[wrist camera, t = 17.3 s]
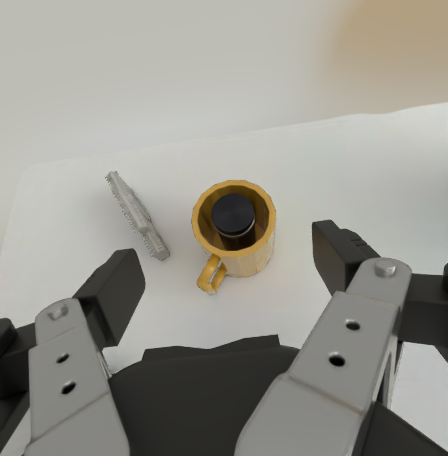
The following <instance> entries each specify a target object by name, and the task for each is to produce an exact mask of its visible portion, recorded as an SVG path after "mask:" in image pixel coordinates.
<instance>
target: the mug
mask: <svg viewBox="0 0 448 456" xmlns="http://www.w3.org/2000/svg"><path fill="white" fill-rule="evenodd" d="M227 194H240V195H243V196H245V197H246V198H247V199H249V201H250V202H251V203H252V206H253V209H254V214H255V233H256V243H255V244H253V245H252V246H251V247H248V248H245V249H242V250H239V251H226V250H225V248H224V245H223V243H222V241H221V239H220V236H219V234H218V232H217V230H216V228H215V226H214V224H213V220H212V217H211V211H212V208H213V205H214V204H215V202H216V201H217V200H218V199H219V198H221V197H222V196H224V195H227ZM275 221H276V210H275V207H274V205H273V203H272V200H271V198H270V196H269V195H268V194H267V193H266V192H265V191H264V190H263V189H262V188H260V187H259V186H257V185H255V184H252V183H250V182H247V181H244V180H228V181H225V182H222V183H219V184H215V185H213V186H212V187H211V188H209V189H208V190H207V191H206V192H204V193H203V194H202V195H201V196H200V198H199V200H198V201H197V203H196V204H195V206H194V208H193V214H192V220H191V224H192V228H193V231H194V235H195V238H196V239H197V241H198V242H199V243H200V245H201V246H202V248H203V249H204V251H205V252H206V254H207V255H208V257H209V260H208V262H207V263H206V265H205V267H204V269H203V271H202V272H201V274H200V276H199V278H198V279H197V286H198V287H199V288H201V289H202V290H203V291H205V292H206V293H207V294H208V295H210V296H212V295H214V294H215V293H216V291H217V289H218V288H219V286H220V284H221V282H222V280H223V278H224V276H225V275H228V276H232V277H237V278H244V277H249V276H252V275H255V274H257V273H258V272H260V271H261V270H262V269H263V268H264V267H265V266H266V265H267V264H268V262H269V260H270V258H271V255H272V253H273V244H274V234H275ZM216 267H217V268H218V270H217V272H216V274H215V276H214V278H213V279H212V281H211V283H210V282H209V280H210V278H211V276H212V275H213V273H214V271H215V269H216Z"/></svg>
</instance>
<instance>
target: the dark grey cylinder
mask: <svg viewBox="0 0 448 456" xmlns="http://www.w3.org/2000/svg"><path fill="white" fill-rule="evenodd" d="M211 217H212V220H213V224H214V226H215V228H216V230H217V232H218V234H219V236H220V239H221V241H222V243H223V245H224V248H225V250H226V251H239V250H242V249H245V248H248V247H251V246H252V245H253V244H255V243H256V233H255V214H254V209H253V206H252V203H251V202H250V201H249V199H247V198H246V197H245V196H243V195H240V194H227V195H224V196H222V197H221V198H219V199H218V200H217V201H216V202H215V204H214V205H213V208H212V211H211Z"/></svg>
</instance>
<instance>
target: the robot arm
mask: <svg viewBox="0 0 448 456" xmlns="http://www.w3.org/2000/svg"><path fill="white" fill-rule="evenodd" d="M312 241H313V257H314V263H315V266H316V268H317V270H318V272H319V274H320V276H321V278H322V279H323V281H324V283H325V285H326V287H327V288H328V290H329V292H330V294H331V296H332V298H331V300H330V301H329V303H328V305H327V306H326V308H325V310H324V311H323V313H322V315H321V316H320V318H319V320H318V321H317V323H316V325H315V326H314V328H313V330H312V331H311V333H310V335H309V336H308V338H307V339H306V341H305V343H304V344H303V346H302V348H301V349H297V348H294V347H289V346H283V345H280V343H279V338H278V334H277V335H268V336H260V337H251V338H243V339H240V340H237V341H234V342H231V343H228V344H225V345H222V346H218V347H215V348H212V349H201V348H192V347H183V346H171V347H162V348H153V349H145V352H144V355H143V357H142V360H141V361H139V362H137V363H134V364H132V365H130V366H128V367H126V368H124V369H122V370H121V371H119V372H117V373H116V374H114V375H113V376H112V375H111V373H110V370H109V368H108V365H107V363H106V360H105V358H104V355H103V353H102V350H103V348H104V347H113V346H118V344H119V342H120V340H121V338H122V336H123V334H124V332H125V330H126V328H127V326H128V324H129V321H130V319H131V317H132V315H133V313H134V311H135V309H136V307H137V305H138V303H139V301H140V299H141V297H142V295H143V293H144V290H145V278H144V274H143V271H142V268H141V265H140V262H139V259H138V256H137V253H136V251H135V250H134V249H133V248H130V249H123V250H117V251H115V252H114V253H113V254H112V256H111V257H110V258H109V259H108V260H107V262H106V263H104V264H103V265H102V266H100V267H99V268H97V269H96V270H95V271H94V272H93V274H92V275H91V277H89V278H88V279H87V281H86V283H84V284H83V285H82V286H81V288H80V289H79V290H78V291H77V292H76V293H75V294H74V296H73V297H72V298H68V299H63V300H60V301H57V302H55V303H53V304H51V305H49V306H48V307H46V308H45V309H43V310H42V311H41V312H40V313H39V314H38V315H37V316H36V318H35V323H32V324H29V325H26V326H23V327H20V328H17V329H15V327H14V325H13V324H12V322H11V320H10V319H8V318H2V319H0V454H1V452H2V451H3V449H4V447H5V446H6V444H7V443H8V441H9V439H10V438H11V436H12V435H13V433H14V431H15V430H16V428H17V427H18V425H19V424H20V422H21V420H22V419H23V417H24V416H25V414H26V412H27V411H28V409H29V408H30V423H31V440H30V442H29V443H28V444H27V445H26V447H25V450H24V453H23V454H22V455H21V456H448V452H447V451H446V450H445V449H443V448H442V447H440V446H439V445H438V444H436V443H435V442H434V441H432V440H431V439H429V438H428V437H427V436H425V435H424V434H423V433H421V432H420V431H418V430H417V429H416V428H414V427H413V426H412V425H410V424H409V423H407V422H406V421H405V420H403V419H402V418H401V417H399V416H398V415H396V414H395V413H394V412H392V411H391V410H390V407H391V401H392V394H393V389H394V384H395V380H396V376H397V372H398V368H399V363H400V359H401V355H402V351H403V347H404V342H412V343H419V344H427V345H434V346H435V347H436V349H437V350H438V351H439V352H440V354H441V355H442V356H443V358H444V359H445V360H446V361H447V363H448V263H447V264H446V265H445V266H444V272H443V275H426V274H414V273H412V270H411V268H410V267H409V266H408V265H407V264H405V263H403V262H401V261H399V260H395V259H391V258H382V257H381V256H380V255H379V254H377V253H376V252H375V251H374V250H373V249H372V248H371V247H370V246H369V245H367V243H366V242H365V241H364V240H362V238H361V237H360V236H359V235H358V234H356V233H355V232H352V231H350V230H348V229H340V228H339V227H338V226H337V225H336V224H335V223H334V222H333V221H332V220H324V221H317V222H313V223H312Z"/></svg>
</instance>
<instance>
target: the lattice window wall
mask: <svg viewBox="0 0 448 456" xmlns="http://www.w3.org/2000/svg"><path fill="white" fill-rule="evenodd" d="M106 178H108V179H107V180H106V181H108V180H109V181H108V183H109V182H110V184H109V185H111V186H110V187H112V188H111V189H112V192H113V194H114V195H115V196H114V197H115V198H117V201H119V204H121V205H120V206H122V207H121V208H122V209H124V210H123V211H122V212H124V211H125V212H126V213H125V214H124V215H126V214H127V216H126V218H127V217H129V219H128V221H129V220H131V221H130V222H129V223H131V222H132V224H131V226H132V225H133V226H132V228H133V227H134V228H133V230H135V231H134V232H137V233H138V232H140V233H142V234H143V237H144V238H143V240H144V239H145V240H144V242H145V241H146V243H145V244H148V245H147V247H148V246H149V248H148V250H149V249H151V250H149V252H150V251H152V252H151V253H150V254H152V253H153V255H152V257H153V256H154V257H157V258H158V259H161V260H163V259H165V258H166V257H168V256H169V251H168V250H167V248H166V246H165V244H164V243H163V241H162V239H161V238H160V236H159V235H158V234H157V232H156V231H155V229H154V227H153V225H152V224H151V222H150V220H151V219H150V216H149V214H148V213H147V211H146V209H145V208H144V206H143V205H142V203H141V202H140V200H139V199H138V198H137V197H136V195H135V194H134V192H133V191H132V190H131V189H130V187H129V186H128V185H127V184H126V183H125V182H124V181H123V180H122V179H121V177H120V176H119V175H118V173H117V171H114V172H112V171H110V172H109V174H108V175H107V176H106V177H105V179H106Z"/></svg>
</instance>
